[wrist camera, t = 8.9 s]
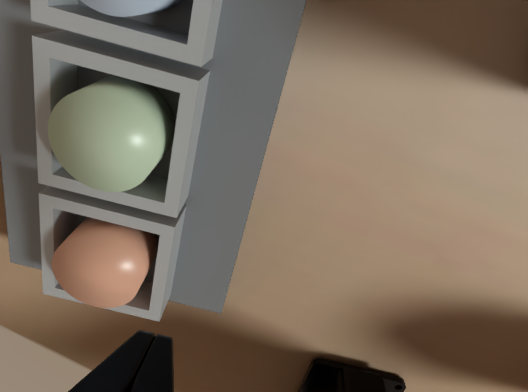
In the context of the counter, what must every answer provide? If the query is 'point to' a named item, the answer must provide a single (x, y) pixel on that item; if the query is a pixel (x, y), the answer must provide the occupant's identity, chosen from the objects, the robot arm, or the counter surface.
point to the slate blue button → (129, 6)
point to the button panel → (184, 142)
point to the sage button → (111, 133)
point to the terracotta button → (104, 262)
